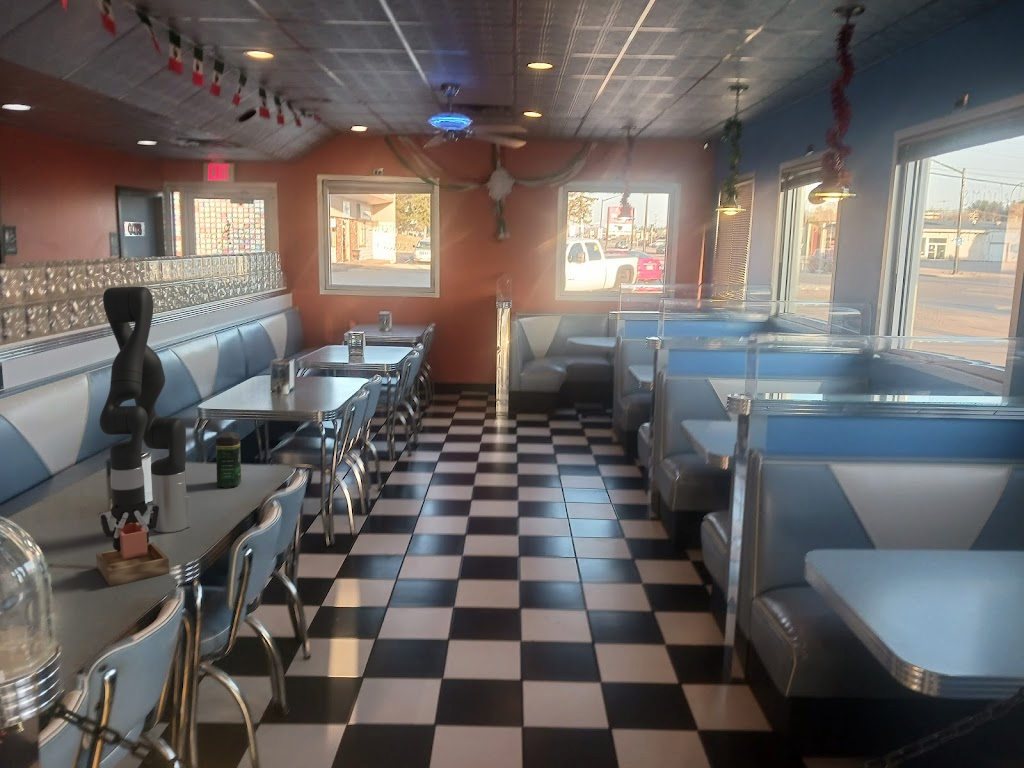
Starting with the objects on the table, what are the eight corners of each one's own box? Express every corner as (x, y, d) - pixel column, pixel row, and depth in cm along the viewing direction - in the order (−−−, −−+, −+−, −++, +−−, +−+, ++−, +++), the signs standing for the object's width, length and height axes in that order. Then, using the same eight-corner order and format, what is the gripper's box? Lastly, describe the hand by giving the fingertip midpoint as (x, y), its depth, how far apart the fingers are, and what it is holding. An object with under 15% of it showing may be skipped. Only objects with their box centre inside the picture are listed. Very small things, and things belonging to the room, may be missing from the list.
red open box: (147, 553, 197) (146, 531, 196) (124, 558, 193) (122, 535, 192) (138, 543, 204) (137, 521, 203) (115, 547, 200) (114, 525, 199)
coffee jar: (239, 488, 270) (237, 436, 267) (215, 488, 269) (213, 436, 265) (243, 480, 279) (241, 429, 276) (220, 480, 278) (218, 430, 275)
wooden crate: (154, 556, 209) (153, 542, 208) (169, 573, 199) (168, 558, 198) (97, 568, 200) (96, 553, 200) (109, 586, 190) (108, 571, 189)
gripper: (99, 492, 188) (103, 559, 191) (162, 483, 197) (165, 546, 200) (92, 485, 194) (96, 549, 197) (153, 476, 203) (157, 538, 206)
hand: (131, 547), depth 198 cm, fingers closed on red open box, 5 cm apart
